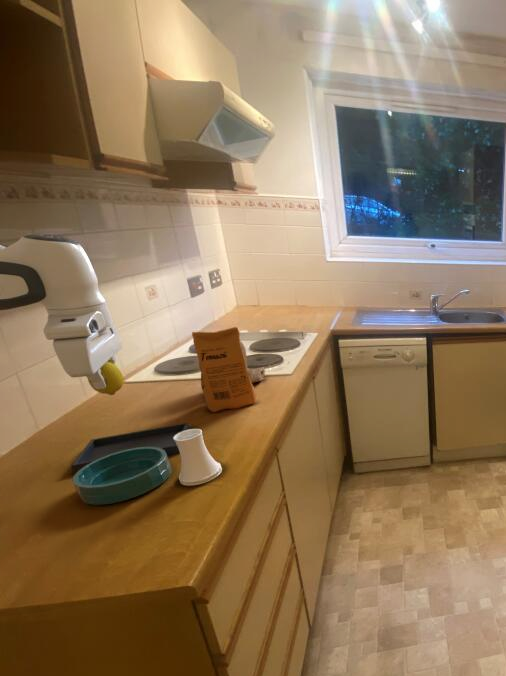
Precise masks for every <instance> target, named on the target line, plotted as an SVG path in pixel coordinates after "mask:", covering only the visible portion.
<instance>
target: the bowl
mask: <svg viewBox="0 0 506 676" xmlns="http://www.w3.org/2000/svg"><path fill="white" fill-rule="evenodd" d="M172 472H173V467H172V464H171V462H170V459H169V457H168V455H167V454H166V452H165V450H163V449H161V448H158V447H138V448H133V449H128V450H123V451H119V452H116V453H113V454H110V455H107V456H105V457H102V458H99V459H97V460H95V461H93V462H91V463H90V464H88V465H86V466H84V467H83V468H82V469H80V470H79V471H78V472H77V473H74V475H73V477H72V485H73V486H74V489H75V490H76V493H77V495H78V497H79V499H80V501H82V502H84V504H89V505H93V506H94V505H95V506H102V505H111V504H112V505H113V504H117V503H120V502H124V501H128V500H131V499H133V498H137V497H139V496H142V495H144V494H146V493H148V492H150V491H152V490H154V489H155V488H157V487H159V486H160V485H162V484H163V483H165V481H167V479H169V477H170V476H171V474H172Z"/></svg>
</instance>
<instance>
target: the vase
mask: <svg viewBox="0 0 506 676" xmlns="http://www.w3.org/2000/svg"><path fill="white" fill-rule="evenodd" d="M173 439H174V440H175V442H176V444H177V446H178V449H179V451H180V453H179V455H180V462H181V469H180V473H179V475H178V480H179V483H180V484H181V485H183V486H189V487H190V486H197V485H202V484H205V483H208V482H210V481H213V480H214V479H216V478H217V477H218V476H219V475H221V473H222V471H223V468H222V464H221V463H220V462H218V461H216V459H214V458H213V457H212V455H211V454H210V452H209V450H208V448H207V447H206V443H205V441H204V435H203V430H202V429H200V428H191V429H189V430H185V431H182V432H180V433H178V434H176V435H175V436H174V437H173Z"/></svg>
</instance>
